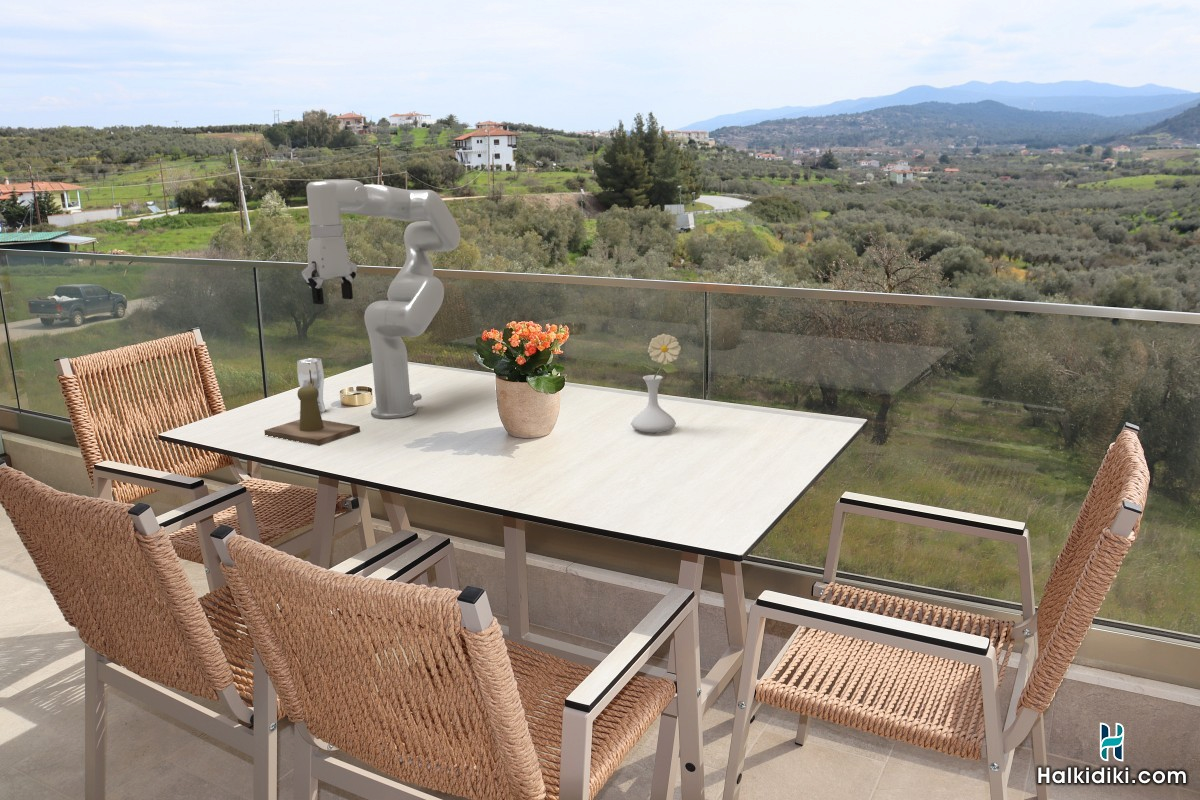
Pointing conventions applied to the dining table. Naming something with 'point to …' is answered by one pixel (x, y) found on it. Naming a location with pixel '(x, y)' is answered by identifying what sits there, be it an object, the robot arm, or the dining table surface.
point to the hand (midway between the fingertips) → (333, 301)
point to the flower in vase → (653, 415)
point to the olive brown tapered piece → (309, 409)
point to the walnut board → (313, 432)
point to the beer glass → (312, 377)
